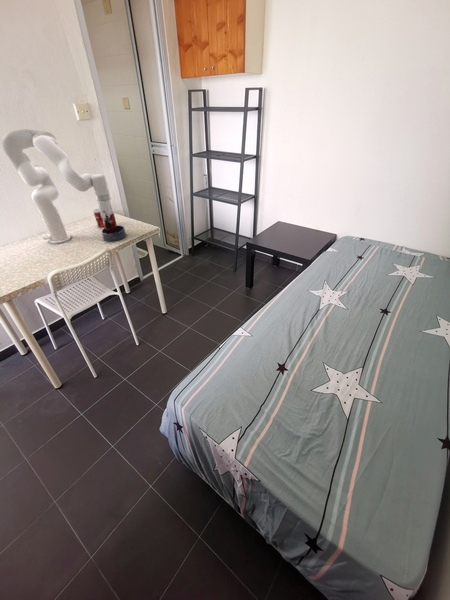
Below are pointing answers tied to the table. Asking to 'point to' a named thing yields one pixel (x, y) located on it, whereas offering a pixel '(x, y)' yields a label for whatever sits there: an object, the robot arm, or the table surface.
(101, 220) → the canned food
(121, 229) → the dark blue bowl
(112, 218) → the soda can
